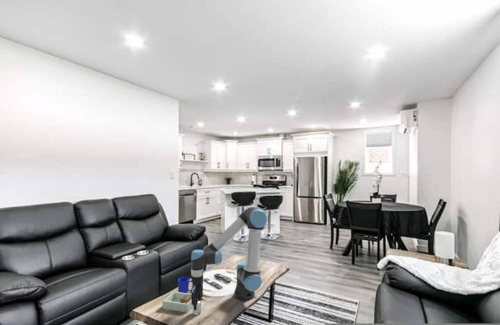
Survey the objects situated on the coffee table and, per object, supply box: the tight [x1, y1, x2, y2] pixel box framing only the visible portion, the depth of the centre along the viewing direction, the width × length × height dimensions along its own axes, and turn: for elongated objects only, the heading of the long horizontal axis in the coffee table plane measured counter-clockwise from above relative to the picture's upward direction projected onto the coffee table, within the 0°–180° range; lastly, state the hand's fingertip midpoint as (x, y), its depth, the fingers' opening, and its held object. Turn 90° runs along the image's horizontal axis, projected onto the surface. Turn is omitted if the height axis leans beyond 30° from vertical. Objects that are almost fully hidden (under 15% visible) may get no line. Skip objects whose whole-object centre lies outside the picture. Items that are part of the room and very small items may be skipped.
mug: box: [177, 276, 193, 293], centre depth 194 cm, size 8×12×10 cm
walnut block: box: [180, 295, 191, 304], centre depth 175 cm, size 5×5×5 cm
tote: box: [162, 291, 193, 313], centre depth 176 cm, size 18×14×5 cm
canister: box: [197, 300, 202, 316], centre depth 166 cm, size 5×5×7 cm
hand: (197, 312), depth 166 cm, fingers closed on canister, 4 cm apart
